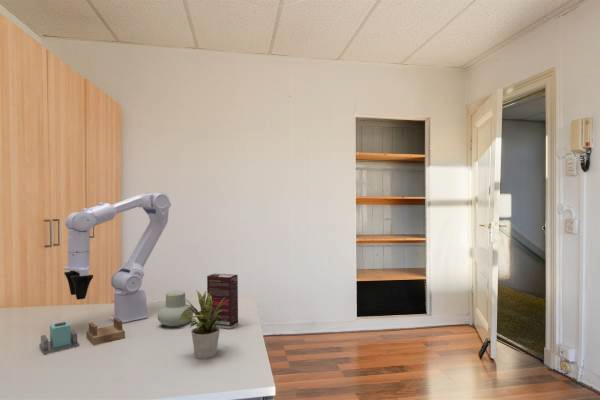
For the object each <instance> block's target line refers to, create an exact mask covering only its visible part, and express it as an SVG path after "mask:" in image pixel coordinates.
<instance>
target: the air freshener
mask: <svg viewBox="0 0 600 400" xmlns="http://www.w3.org/2000/svg"><path fill="white" fill-rule="evenodd" d="M177 297H180V298H177ZM183 298H184V299H183ZM185 299H186V291H183V290H171V291H168V292H167V293H166V294H165V306H163V307H162V308H160V310H159V311H158V313H157V320H158V322H159V323H160V324H162V325H164V326H166V327H182V326H184V325H186V324H187V323H189V322H191V321H192V319H190V320H191V321H190V320H189V319H186V320H183V321H181V320H182V319H183V318H186V317H185V316H184V315H186V316H187V317H192V316H194V312H193V311H192V310H191V309H190V308H188V307H190V306H189V305H190V304H186V300H185ZM185 307H186V308H185ZM181 314H183V315H181ZM180 321H181V322H180Z"/></svg>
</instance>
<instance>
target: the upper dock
mask: <svg viewBox="0 0 600 400" xmlns="http://www.w3.org/2000/svg"><path fill="white" fill-rule="evenodd" d="M113 320H114V321H113ZM113 320H112V321H113V324H112V325H107V326H103V327H98V326H97V325H96V323H94V322H93V321H92V322H88V330H86V339H87V340H88V341H89V342H90V343H91V344H92V345H93V346H98V345H102V344H105V343H110V342H113V341H118V340H123V339H126V332H125V330H124V329H123V323H122V321H121V320H120V319H119V318H117V317H116V318H113Z"/></svg>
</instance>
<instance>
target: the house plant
mask: <svg viewBox="0 0 600 400" xmlns="http://www.w3.org/2000/svg"><path fill="white" fill-rule="evenodd" d="M195 292H196V293H197V298H198V303H199V306H200V307H199V308H200V311H199V310H198V309H197V308H196V307H194V305H193V304H192V303H191V302H190V301H189V300H188V299H187V298H185V303H188V305H189V306H190V307H188V308H190V309H191V310H192V311H193V314H195V315H193V316H192V317H187V316H186V315H184V316H185V317H186V318H183V319H182V320H181V321H183V320H186V319H189V320H190V319H191V320H190V321H189V322H191V323H190V329H191V328H192V327H193V326H195V327H194V328H192V329H191V330H190V331H191V332H190V333H191V338H192V344H193V350H194V356H195V357H196V358H198V359H201V360H202V359H209V358H213V357H215V356H216V354H217V349H218V344H219V338H220V330H221V328H219V327H217V326H216V325H217V324H218V323H219V322H221V321H223V320H221V321H219V322H217V323H216V324H215V325H214V323H215V322H216V321H217V320H218V319H219V318H220V316H216V315H217V314H218V313H219V312H220V311H222V310H219V311H218V309H219V307H220V306H221V305H222V304H223V303H222V304H221V302H222V301H223V300H222V301H221V302H220V304H221V305H220V304H219V305H220V306H219V305H218V306H219V307H217V308H216V310H215V312H214V314H213V316H212V318H211V319H210V315H211V308H212V297H211V295H210V298H209V294H208V293H207V290H206V291H204V293H203V295H202V293H200V291H199V290H195ZM209 293H210V292H209ZM177 298H180V297H177ZM183 299H184V298H183ZM227 301H228V300H227ZM225 302H226V301H225ZM185 308H186V307H185ZM217 311H218V312H217ZM181 315H183V314H181ZM195 318H196V319H197V320H196V319H195ZM209 319H210V321H209ZM224 320H226V319H224ZM181 321H180V322H181ZM226 321H227V320H226ZM210 322H211V323H210ZM213 325H214V326H213Z"/></svg>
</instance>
